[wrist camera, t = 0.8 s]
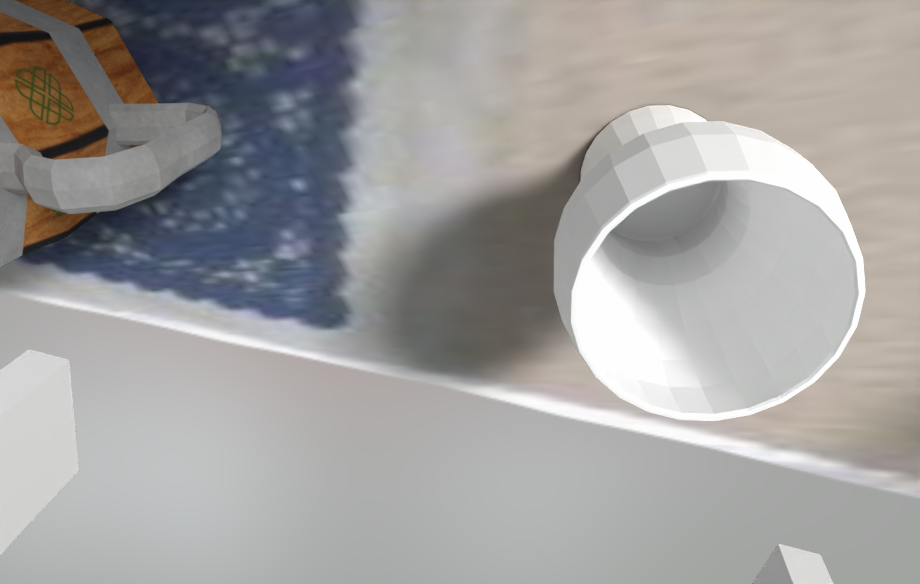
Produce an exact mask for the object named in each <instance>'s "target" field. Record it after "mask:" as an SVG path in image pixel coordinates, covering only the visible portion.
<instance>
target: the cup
mask: <svg viewBox="0 0 920 584" xmlns="http://www.w3.org/2000/svg"><path fill="white" fill-rule="evenodd" d="M865 292H866V291H865V278H864V265H863V257H862V254H861V251H860V248H859V245H858V243H857V240H856V237H855V234H854V231H853V228H852V226H851V223H850V221H849V219H848V216H847V214H846V212H845V209H844V207H843V205H842V203H841V200H840V198H839V196H838V194H837V191H836V190H835V189H834V188H833V187H832V186H831V185H830V184H829V182H828V181H827V180H826V179H825V178H824V177H823V176H822V175H821V174H820V173H819V172H818V170H817V169H816V168H815V167H814V166H813V165H812V164H811V163H810V162H809V161H807V160H806V159H805V158H803V157H802V156H801V155H799V154H798V153H797V152H796V151H794V150H793V149H792V148H790V147H788V146H786V145H785V144H783V143H781V142H779V141H778V140H776V139H774V138H772V137H771V136H769V135H767V134H765V133H764V132H762V131H760V130H757V129H752V128H748V127H744V126H740V125H736V124H731V123H727V122H723V121H712V122H707V121H706V120H705V119H704V118H702V117H700V116H698V115H697V114H695V113H693V112H691V111H690V110H687V109H683V108H679V107H675V106H670V105H658V106H646V107H643V108H639V109H636V110H632V111H629V112H627V113H625V114H624V115H622V116H620V117H619V118H617V119H615V120H613V121H612V122H610V123H609V124H608V125H607V126H606V127H605V128H604V129H603V130H602V131H601V132H600V133H599V134H598V135H597V136H596V137H595V139H594V141H593V142H592V144H591V146H590V147H589V149H588V150H587V152H586V155H585V158H584V161H583V165H582V168H581V176H580V183H579V184H578V186H577V188H576V189H575V191H574V192H573V194H572V196H571V197H570V199H569V200H568V202H567V204H566V205H565V207H564V209H563V212H562V215H561V219H560V222H559V226H558V229H557V232H556V236H555V239H554V295H555V298H556V302H557V305H558V309H559V312H560V315H561V319H562V322H563V324H564V326H565V328H566V330H567V332H568V334H569V335H570V337H571V339H572V341H573V343H574V345H575V347H576V348H577V350H578V352H579V353H580V355H581V357H582V358H583V360H584V361H585V363H586V364H587V366H588V367H589V369H590V370H591V372H592V373H593V375H594V376H595V377H596V378H597V379H598V380H599V381H600V382H601V383H603V384H604V385H605V386H606V387H607V388H608V389H609V390H611V391H612V392H613V393H614V394H615V395H616V396H617V397H619V398H621V399H623V400H625V401H627V402H629V403H631V404H633V405H635V406H637V407H639V408H641V409H643V410H645V411H647V412H650V413H654V414H658V415H662V416H667V417H671V418H675V419H679V420H700V421H718V420H724V419H729V418H735V417H741V416H747V415H751V414H754V413H757V412H759V411H762V410H764V409H767V408H770V407H772V406H775V405H777V404H780V403H783V402H785V401H786V400H788V399H789V398H791V397H792V396H794V395H795V394H797V393H799V392H800V391H802V390H803V389H805V388H806V387H808V386H809V385H811V384H813V383H814V382H815V381H816V380H817V379H818V378H819V377H820V376H821V375H822V374H823V373H824V372H825V371H826V370H827V369H828V368H829V367H830V366H831V365H832V364H833V363H834V362H835V361H836V360H837V359H838V358H839V356H840V355H841V353H842V351H843V350H844V348H845V346H846V344H847V343H848V341H849V339H850V337H851V336H852V334H853V332H854V330H855V329H856V327H857V325H858V321H859V317H860V313H861V308H862V304H863V300H864V296H865Z"/></svg>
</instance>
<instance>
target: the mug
mask: <svg viewBox="0 0 920 584" xmlns="http://www.w3.org/2000/svg"><path fill="white" fill-rule="evenodd" d="M221 135H222V133H221V124H220V121H219V119H218V116H217V113H216V111H215V110H214V109H212V108H211V107H209V106H207V105H200V104H193V103H161V104H159V103H158V101H157V100H156V98H155V96H154V94H153V93H152V91H151V89H150V87H149V86H148V84H147V82H146V81H145V79H144V77H143V75H142V74H141V72H140V70H139V68H138V67H137V65H136V63H135V61H134V60H133V58H132V56H131V54H130V53H129V51H128V49H127V47H126V46H125V44H124V42H123V40H122V39H121V37H120V35H119V34H118V32H117V30H116V28H115V27H114V25H113V23H112V21H111V20H109V19H107V18H104V17H102V16H100V15H98V14H95V13H93V12H91V11H89V10H87V9H84V8H82V7H80V6H78V5H75V4H73V3H71V2H69V1H66V0H0V267H2V266H4V265H5V264H7V263H9V262H11V261H13V260H14V259H16V258H18V257H20V256H22V255H24V254H26V253H29V252H31V251H33V250H36V249H38V248H41V247H43V246H45V245H48V244H50V243H53V242H55V241H57V240H60V239H62V238H65V237H67V236H68V235H70V234H71V233H72V232H73V231H75V230H76V229H77V228H79V227H80V226H81V225H83V224H84V223H85V222H87V221H88V220H89V219H90V218H92V217H93V216H94V215H96V214H97V213H99V212H101V211H113V210H118V209H121V208H123V207H126V206H129V205H131V204H134V203H136V202H139V201H142V200H144V199H147V198H149V197H152V196H155V195H156V194H158V193H159V192H160V191H161V190H163V189H164V188H165V187H166V186H168V185H169V184H170V183H172V182H173V181H174V180H175V179H177V178H178V177H180V176H181V175H183V174H185V173H186V172H188V171H190V170H191V169H193V168H195V167H196V166H198V165H200V164H201V163H203V162H204V161H206V160H207V159H209V158H210V157H212V156H213V155H215V154H216V153H217V152H218V151H219V150H220V149H221Z"/></svg>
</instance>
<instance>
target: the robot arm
mask: <svg viewBox="0 0 920 584" xmlns="http://www.w3.org/2000/svg"><path fill="white" fill-rule="evenodd" d="M78 471H79V463H78V452H77V441H76V429H75V418H74V407H73V396H72V386H71V375H70V362H69V360H68V359H64V358H60V357H57V356H53V355H49V354H45V353H42V352H38V351H34V350H30V349H28V350H27V351H26V352H24V353H23V354H22V355H20V356H19V357H18V358H16V359H15V360H14V361H12V362H11V363H10V364H8V365H7V366H5V367H4V368H3V369H1V370H0V555H1V554H2V553H3V552H4V551H5V550H6V549H7V548H8V546H9V545H10V544H11V543H12V542H13V541H14V540H15V539H16V538H17V537H18V536H19V535H20V534H21V533H22V532H23V530H24V529H25V528H26V527H27V526H28V525H29V524H30V523H31V522H32V520H34V519H35V518H36V516H37V515H38V514H39V513H40V512H41V511H42V510H43V509H44V507H46V506H47V504H49V502H50V501H51V500H52V499H53V498H54V497H55V496H56V495H57V494H58V493H59V492H60V491H61V490H62V488H63V487H64V486H65V485H66V484H67V483H68V482H69V481H70V480H71V479H72V478H73V477H74V476H75V475H76V473H77V472H78ZM752 584H833V582H832V580H831V578H830V575H829V573H828V571H827V568H826V566H825V564H824V562H823V560H822V557H821V555H819V554H816V553H812V552H808V551H804V550H800V549H797V548H793V547H789V546H785V545H781V544H778V545H777V546H776V548H775V549H774V551H773V553H772V554H771V556H770V557H769V559H768V560H767V562H766V563H765V565H764V567H763V568H762V569H761V571H760V573H759V574H758V576H757V577H756V579H755V580H754V582H753V583H752Z"/></svg>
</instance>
